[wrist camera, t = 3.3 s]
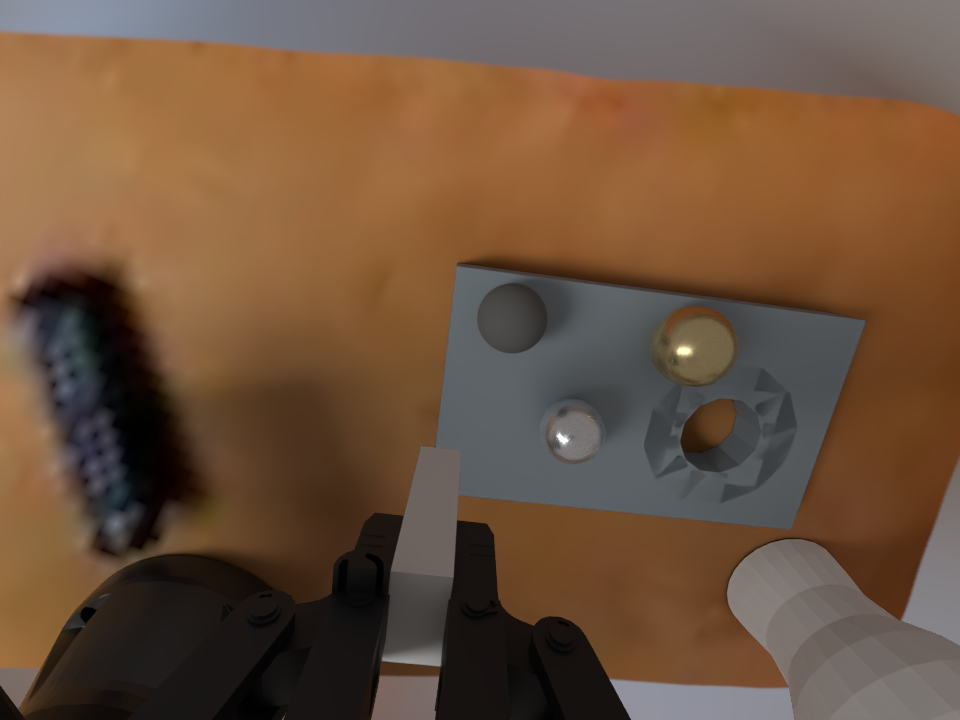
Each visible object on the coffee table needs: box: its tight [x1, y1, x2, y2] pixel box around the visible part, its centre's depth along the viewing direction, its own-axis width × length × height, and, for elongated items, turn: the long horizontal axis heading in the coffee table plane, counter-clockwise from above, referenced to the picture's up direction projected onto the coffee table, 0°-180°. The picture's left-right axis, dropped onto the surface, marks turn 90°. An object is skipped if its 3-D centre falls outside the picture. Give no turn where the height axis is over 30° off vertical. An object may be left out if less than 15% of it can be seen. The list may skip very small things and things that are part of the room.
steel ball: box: [539, 399, 606, 465], centre depth 24 cm, size 3×3×3 cm
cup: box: [727, 539, 960, 720], centre depth 25 cm, size 11×11×15 cm
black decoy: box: [477, 283, 547, 354], centre depth 23 cm, size 3×3×3 cm
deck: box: [435, 263, 866, 530], centre depth 27 cm, size 22×13×2 cm, turn 82°
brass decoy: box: [649, 306, 739, 387], centre depth 23 cm, size 4×4×4 cm
